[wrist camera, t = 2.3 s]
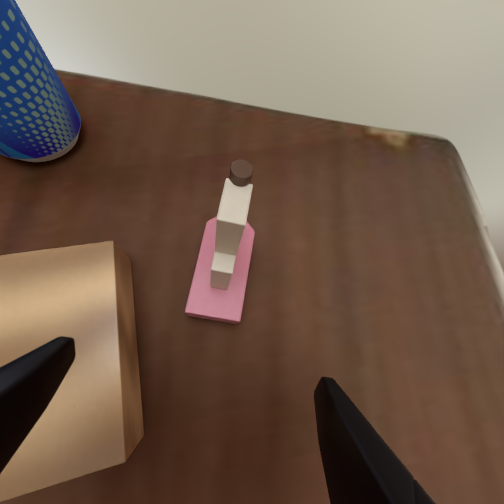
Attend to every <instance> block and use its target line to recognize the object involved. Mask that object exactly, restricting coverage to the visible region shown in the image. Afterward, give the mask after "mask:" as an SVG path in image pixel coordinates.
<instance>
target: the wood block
mask: <svg viewBox="0 0 504 504" xmlns="http://www.w3.org/2000/svg"><path fill="white" fill-rule="evenodd" d="M59 336H66V337H72V338H73V339H74V341H75V352H76V356H75V360H74V362H73V364H72V365H71V367H70V369H69V371H68V372H67V374H66V376H65V378H64V379H63V381H62V383H61V385H60V386H59V388H58V390H57V391H56V393H55V395H54V397H53V398H52V400H51V402H50V403H49V405H48V407H47V408H46V410H45V411H44V413H43V414H42V416H41V417H40V418H39V420H38V421H37V423H36V424H35V426H34V427H33V428H32V430H31V431H30V433H29V434H28V435H27V437H26V438H25V440H24V441H23V443H22V444H21V445H20V447H19V448H18V450H17V451H16V452H15V454H14V455H13V457H12V458H11V460H10V461H9V462H8V464H7V465H6V467H5V468H4V470H3V471H2V472H1V474H0V502H2V501H6V500H9V499H12V498H15V497H18V496H21V495H24V494H28V493H31V492H34V491H37V490H40V489H43V488H46V487H50V486H53V485H56V484H59V483H62V482H65V481H68V480H72V479H75V478H78V477H81V476H84V475H87V474H90V473H94V472H97V471H100V470H103V469H106V468H109V467H112V466H116V465H119V464H122V463H125V462H126V461H127V459H128V458H129V456H130V455H131V453H132V452H133V450H134V449H135V448H136V446H137V445H138V443H139V442H140V440H141V439H142V437H143V436H144V427H143V414H142V401H141V388H140V375H139V362H138V349H137V336H136V323H135V309H134V296H133V283H132V270H131V259H130V258H129V257H128V256H127V255H126V254H125V253H124V252H123V251H122V250H121V249H120V247H119V246H118V245H117V244H116V243H115V242H114V241H106V242H99V243H91V244H84V245H76V246H69V247H61V248H53V249H46V250H38V251H31V252H23V253H16V254H8V255H1V256H0V367H2V366H4V365H5V364H7V363H9V362H11V361H13V360H15V359H17V358H19V357H21V356H23V355H25V354H26V353H28V352H30V351H32V350H34V349H36V348H38V347H40V346H42V345H44V344H45V343H47V342H49V341H51V340H53V339H55V338H57V337H59Z"/></svg>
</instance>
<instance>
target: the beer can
mask: <svg viewBox="0 0 504 504" xmlns="http://www.w3.org/2000/svg"><path fill="white" fill-rule="evenodd" d="M80 128H81V118H80V115H79V112H78V111H77V109H76V107H75V105H74V104H73V102H72V100H71V98H70V97H69V95H68V93H67V91H66V89H65V88H64V86H63V84H62V82H61V81H60V79H59V77H58V75H57V74H56V72H55V70H54V68H53V67H52V65H51V63H50V61H49V60H48V58H47V56H46V55H45V52H44V51H43V49H42V47H41V45H40V44H39V42H38V40H37V39H36V37H35V35H34V33H33V31H32V30H31V28H30V26H29V24H28V23H27V21H26V19H25V17H24V16H23V14H22V12H21V10H20V8H19V7H18V5H17V3H16V1H15V0H0V154H1V155H3V156H6V157H9V158H14V159H20V160H23V161H29V162H44V161H49V160H53V159H56V158H59V157H61V156H63V155H64V154H66V153H67V152H69V151H70V150H71V149H72V148H73V147H74V145H75V144H76V142H77V140H78V136H79V131H80Z"/></svg>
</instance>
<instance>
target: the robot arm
mask: <svg viewBox="0 0 504 504" xmlns="http://www.w3.org/2000/svg"><path fill="white" fill-rule="evenodd" d="M75 356H76V352H75V341H74V339H73V338H72V337H66V336H59V337H57V338H55V339H53V340H51V341H49V342H47V343H45V344H44V345H42V346H40V347H38V348H36V349H34V350H32V351H30V352H28V353H26V354H25V355H23V356H21V357H19V358H17V359H15V360H13V361H11V362H9V363H7V364H5V365H4V366H2V367H0V474H1V472H2V471H3V470H4V468H5V467H6V465H7V464H8V462H9V461H10V460H11V458H12V457H13V455H14V454H15V452H16V451H17V450H18V448H19V447H20V445H21V444H22V443H23V441H24V440H25V438H26V437H27V435H28V434H29V433H30V431H31V430H32V428H33V427H34V426H35V424H36V423H37V421H38V420H39V418H40V417H41V416H42V414H43V413H44V411H45V410H46V408H47V407H48V405H49V403H50V402H51V400H52V398H53V397H54V395H55V393H56V391H57V390H58V388H59V386H60V385H61V383H62V381H63V379H64V378H65V376H66V374H67V372H68V371H69V369H70V367H71V365H72V364H73V362H74V360H75ZM314 401H315V411H316V422H317V432H318V440H319V446H320V452H321V457H322V462H323V467H324V472H325V478H326V483H327V488H328V493H329V498H330V503H331V504H435V503H434V501H433V500H432V499H431V498H430V497H429V495H428V494H427V493H426V492H425V491H424V489H423V488H422V487H421V486H420V484H419V483H418V482H417V481H416V480H414V478H413V476H412V475H411V473H410V472H409V471H408V470H407V469H406V467H405V466H404V465H403V464H402V462H401V461H400V460H399V459H398V458H397V456H396V455H395V454H394V453H393V451H392V450H391V449H390V448H389V446H388V445H387V444H386V443H385V442H384V440H383V439H382V438H381V437H380V435H379V434H378V433H377V432H376V430H375V429H374V428H373V427H372V426H371V424H370V423H369V422H368V421H367V419H366V418H365V417H364V416H363V415H362V413H361V412H360V411H359V410H358V408H357V407H356V406H355V405H354V403H353V402H352V401H351V400H350V399H349V397H348V396H347V395H346V394H345V392H344V391H343V390H342V389H341V387H340V386H339V385H338V384H337V383H336V381H335V380H334V379H333V378H329V377H321V379H320V381H319V383H318V385H317V387H316V389H315V392H314Z"/></svg>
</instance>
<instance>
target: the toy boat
mask: <svg viewBox="0 0 504 504" xmlns="http://www.w3.org/2000/svg"><path fill="white" fill-rule="evenodd" d="M252 174H253V167H252V165H251V164H250V163H249V162H247V161H245V160H236V161H234V162H233V163H232V165H231V168H230V176H229V179H226V180H225V185H224V189H223V193H222V198H221V202H220V206H219V211H218V215H217V216H216V217H215V218H213V219H211V220H209V221H207V223H206V227H205V231H204V235H203V239H202V244H201V248H200V252H199V256H198V260H197V264H196V268H195V272H194V276H193V280H192V284H191V288H190V292H189V296H188V301H187V305H186V309H185V313H186V314H187V315H188V316H192V317H197V318H203V319H209V320H215V321H221V322H227V323H232V324H237V323H239V322H240V320H241V314H242V308H243V302H244V296H245V290H246V284H247V277H248V271H249V265H250V259H251V253H252V247H253V241H254V235H255V231H254V230H253V229H252V227H251V226H250V225H249V223H248V222H247V215H248V210H249V204H250V198H251V193H252V187H253V185H252V184H250V182H251V178H252Z"/></svg>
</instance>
